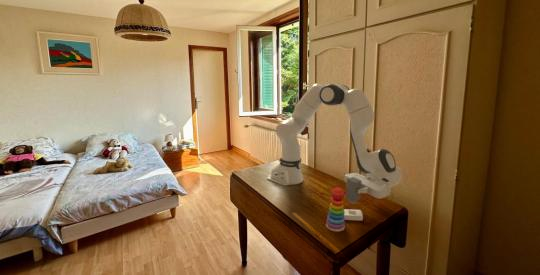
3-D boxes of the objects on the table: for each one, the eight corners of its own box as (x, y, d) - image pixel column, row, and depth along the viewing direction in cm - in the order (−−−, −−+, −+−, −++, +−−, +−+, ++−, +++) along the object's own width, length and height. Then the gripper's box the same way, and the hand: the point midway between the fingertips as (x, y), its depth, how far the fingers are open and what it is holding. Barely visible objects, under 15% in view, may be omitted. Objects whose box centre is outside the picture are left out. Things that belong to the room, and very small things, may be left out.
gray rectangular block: (352, 199, 115) (353, 176, 112) (359, 204, 111) (361, 180, 108) (345, 201, 113) (346, 178, 110) (353, 206, 109) (354, 182, 106)
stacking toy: (336, 236, 103) (338, 194, 98) (321, 227, 109) (323, 187, 104) (348, 229, 107) (351, 188, 102) (333, 220, 113) (335, 182, 109)
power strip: (336, 221, 113) (337, 214, 112) (335, 215, 117) (335, 208, 116) (362, 223, 111) (362, 215, 110) (359, 216, 116) (360, 209, 115)
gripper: (357, 168, 124) (335, 173, 118) (394, 183, 107) (371, 191, 100) (356, 179, 126) (335, 186, 120) (392, 197, 108) (370, 205, 102)
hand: (352, 188), depth 110 cm, fingers closed on gray rectangular block, 4 cm apart
